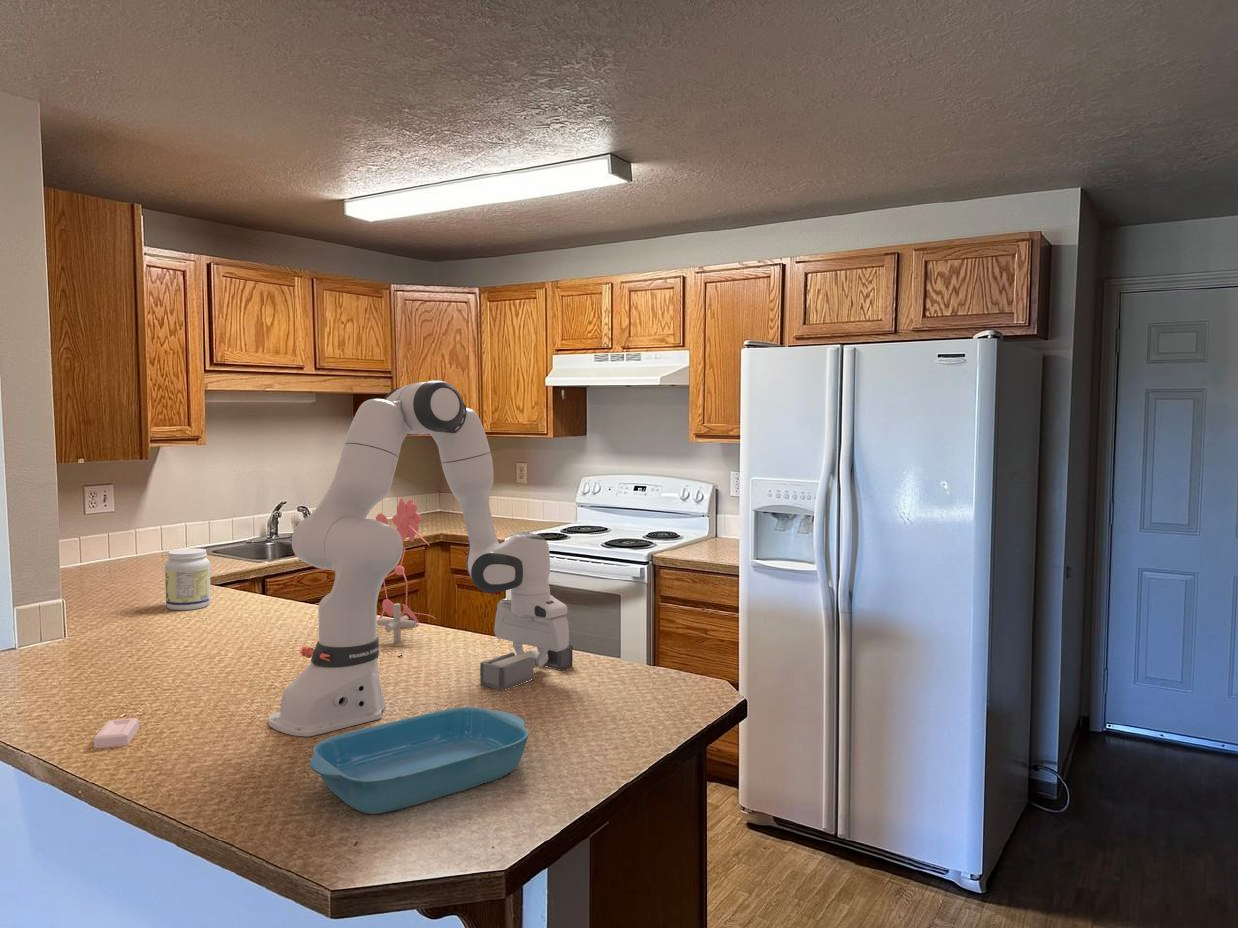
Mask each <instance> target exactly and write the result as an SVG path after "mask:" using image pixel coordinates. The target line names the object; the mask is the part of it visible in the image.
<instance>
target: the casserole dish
mask: <svg viewBox="0 0 1238 928" xmlns="http://www.w3.org/2000/svg"><path fill="white" fill-rule="evenodd" d="M525 725H526V722H525V720H524V719H523V718H521V717H519V716H518V715H516V714H513V713H510V712H507V711H504V710H503V711H501V710H490V709H489V708H484V707H478V706H477V707H475V706H467V707H466V706H465V707H464V706H463V707H455V708H454V707H453V708H449V709H443V710H438V711H432V712H430V713H429V712H428V713H425V714H424V713H423V714H420V715H415V716H410V717H407V718H403V719H399V720H394V721H390V722H386V723H381V724H378V725H373V726H368V727H364V728H359V729H356V730H352V731H348V732H345V733H340V734H337V735H333V736H331V737H327V738H326V739H325V738H324V739H323V740H321V741H319V742H318V743H316V744H315V745H314V746H313V748H312V757H311V758H310V760H309V767H310V769H311V770H312V771H314V772H315V773H317V774H318V775H319V776H320V777H321V780H322V782H323V783H324V784H325V786H326V787H327V788H328V789H329V790H330V791H331V792H332V793H333V794H335V795H336V797H338V798H339V799H340V800H341V801H342V802H344V803H345V804H346V805H347V806H350V807H351V808H353V809H355V810H357V811H359V812H361V813H363V814H366V815H368V814H369V815H379V814H385V813H390V812H393V811H394V812H395V811H397V810H402V809H405V808H409V807H414V806H417V805H419V804H423V803H426V802H429V801H430V802H431V801H433V799H434V800H436V798H437V799H440V798H443V797H446V796H448V795H452V794H457V793H460V792H462V790H463V791H466V790H465V789H467V790H469V789H468V788H470V789H472V788H471V787H473V788H475V787H474V786H476V787H478V786H477V785H479V786H481V785H480V784H482V785H484V784H483V783H485V784H487V783H486V782H488V783H490V782H489V781H491V782H493V781H496V780H498V779H497V778H499V779H501V778H503V777H502V776H504V777H506V776H507V775H508V773H509V774H510V773H511V772H513V770H515V769H516V767H517V766H518V765H519V763H520V761H521V758H522V757H523V754H524V751H525V748H526V744H527V741H528V738H529V737H530V733H529V730H528V728H526V727H525ZM505 775H506V776H505ZM500 777H501V778H500ZM495 779H496V780H495ZM492 780H493V781H492ZM459 791H460V792H459ZM456 792H457V793H456ZM442 796H443V797H442ZM439 797H440V798H439Z"/></svg>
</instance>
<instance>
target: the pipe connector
mask: <svg viewBox="0 0 1238 928" xmlns="http://www.w3.org/2000/svg"><path fill="white" fill-rule="evenodd" d="M401 610H402V609H401V603H398V602H397V603H393V616H392V618H382V619H379V618H378V619H377V626H381V627H382V626H383V627H384V629H385V631H386V632H388V633H389V632H393V644H400V643H402V635H401V634H402V633H401V632H402V628H412V629H413V628H416V627H417V624H418V623H417V622H416V621H415V620H414V619H412V620H409V618H410V617H409V615H403V617H401V614H402V613H401V612H402V611H401Z"/></svg>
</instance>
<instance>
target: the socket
mask: <svg viewBox="0 0 1238 928" xmlns="http://www.w3.org/2000/svg"><path fill="white" fill-rule="evenodd" d="M537 648H538V647H536V649H537ZM573 650H574V649H573V645H571V644H568V646H567V648H566V649H564V650H562V651H558V652H555V651H551V650H548V652H547V654H548V661H547V663H546V664H544V666H543V667H545V666H548V667H547V668H549V667H551V668H550V669H553V668H556V669H555V670H557V669H560V670H559V671H561V670H562V671H564V670H566V669H565V668H567V669H569V668H568V667H570V668H572V667H573ZM571 666H572V667H571ZM563 669H564V670H563Z"/></svg>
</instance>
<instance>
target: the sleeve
mask: <svg viewBox="0 0 1238 928" xmlns="http://www.w3.org/2000/svg"><path fill="white" fill-rule="evenodd" d="M515 655H516V652H515V653H514V652H510V653H507V654H504V655H501V656H497V657H494V658H491V659H488V660H485V661H482V662H480V663H479V667H480V669H479V675H480V677H479V683H480V684H479V685H480V686H481V685H482V687H485V686H486V688H489V687H490V688H489V689H492V688H493V689H492V690H496V691H499V690H500V691H499V692H504V691H506V690H505V689H507V690H509V689H508V688H510V689H512V688H514V687H513V686H515V687H517V686H516V685H518V686H520V685H522V684H521V683H523V684H525V683H524V682H526V681H529V680H531V679H533V678H534V674H535V673H534V669H535V668H534V658H532V657H529V658H526V659H523V660H520V661H517V662H514V663H511V664H508V665H505V666H502V667H501V666H497V665H493V664H492V663H494V662H497V661H500V660H503V659H506V658H509V657H512V656H515ZM533 680H534V679H533ZM531 681H532V680H531ZM529 682H530V681H529ZM526 683H527V682H526ZM519 684H520V685H519ZM511 687H512V688H511ZM503 690H504V691H503Z"/></svg>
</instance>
